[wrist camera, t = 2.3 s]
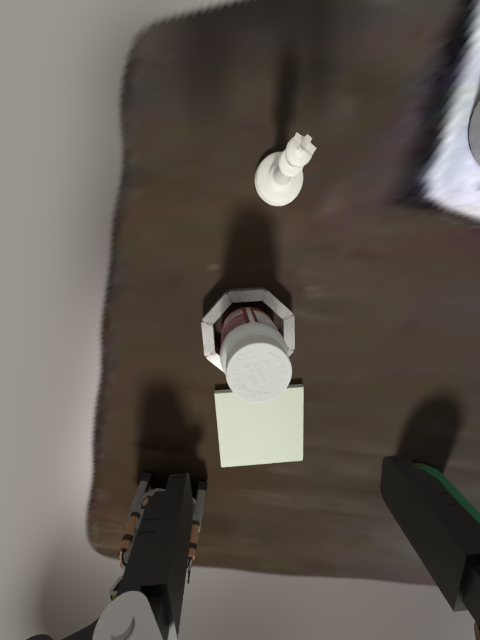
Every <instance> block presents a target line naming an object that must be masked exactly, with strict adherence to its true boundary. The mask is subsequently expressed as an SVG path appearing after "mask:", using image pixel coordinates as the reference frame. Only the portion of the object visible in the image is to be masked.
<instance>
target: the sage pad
mask: <svg viewBox="0 0 480 640" xmlns="http://www.w3.org/2000/svg"><path fill="white" fill-rule="evenodd" d="M215 404H216V415H217V426H218V436H219V447H220V458H221V467H230V466H242V465H254V464H266V463H278V462H290V461H302V460H303V385H302V384H294V385H288V386H287V388H286V389H285V391H284V392H283V393H282V394H281V395H279V396H278V397H276V398H275V399H273V400H270V401H267V402H263V403H253V402H248V401H245V400H243V399H241V398H239V397H238V396H237V395H235V394H234V393H233V391H232V390H231V389H227V390H215Z"/></svg>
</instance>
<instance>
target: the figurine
mask: <svg viewBox="0 0 480 640" xmlns="http://www.w3.org/2000/svg"><path fill="white" fill-rule="evenodd" d="M150 479H151V474H150V473H143V472H142V475H141V478H140V482H139V486H138V489H137V492H136V494H135V497H134V500H133V503H132V506H131V509H130V513H129V516H128V520H127V526H126V528H125V534H124V536H123V539H122V541H121V546H120V556H119V557H120V559H121V562H120V566H121V568H122V569H121V575H122V577H123V574H124V571H125V568H126V565H127V562H128V559H129V556H130V553H131V550H132V546H133V543H134V540H135V537H136V536H137V531H138V528H139V525H140V523H141V519H142V515H143V512H144V509H145V506H146V504H147V503H148V501H149V500H150V498H151V497H152V496H153V494H154V493H155V492H156V491H165V489H158V488H156V489H154V490H151V491H149V492H148V489H149V484H150ZM207 483H208V482H202V481H199V483H198V487H197V491H196V494H195V498H193V497H192V499H193V523H192V531H191V539H190V546H189V554H188V562H187V570H188V583H189V577H190V569H191V563H192V561H193V560H194V559H195V553H196V549H197V540H198V537H199V532H200V528H201V522H202V516H203V509H204V500H205V494H206V490H207ZM121 564H122V565H121ZM187 570H186V571H187ZM122 577H119V578H118V580H117V581H116V583H115V584H114V585H113V586H112V588H111V589H110V590H109V594H110V601H111V602H112V601H113V600H114V598H115V596H116V594H117V592H118V589H119V587H120V584H121V581H122ZM111 602H110V603H111ZM110 603H109V604H110Z"/></svg>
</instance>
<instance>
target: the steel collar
mask: <svg viewBox="0 0 480 640" xmlns="http://www.w3.org/2000/svg"><path fill="white" fill-rule="evenodd" d="M251 301H263V302H264V303H265V304H266V305H268V306H269V307H270V308H271V309H272V310H273V311H274V312H275V313H276V314H278V315H279V316H280V334H281V335H282V337H283V338H284V340H285V342H286V345H287V349H288V357H289V356H290V355H291V354H292V353H293V350H294V349H295V335H294V315H293V313H292V312H291V311H290V310H289V309H288V308H287V307H285V306H284V305H283V304H282V303H281V302H280V301H279V300H278V299H277V298H276V297H274V296H273V295H272V294H271V293H270V292H269V291H268V290H267V289H266V288H263V287H255V288H239V289H228V292H227V291H225V292H224V293H223V294H222V295H221V297H220V298H219V299H218V300H217V301H216V302H215V303H214V305H213V306H212V307H211V308H210V309H209V310H208V311H207V312H206V314H205V315H204V316H203V319H202V322H201V324H202V334H203V344H204V354H205V356H206V359H208V360H209V361H210V362H212V363H213V364H214V365H215V366H217V367H218V368H219V369H220V370H222V371H223V369H222V366H221V362H220V349H219V348H218V347H216V342H215V330H214V323H215V321H216V320H217V319H218V318H219V317H220V316H221V315H222V314H223V313H224V311H225V310H226V309H227V308H228V307H229V306H230V305H231V304H232V303H236V302H251ZM223 372H224V371H223Z"/></svg>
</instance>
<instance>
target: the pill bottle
mask: <svg viewBox="0 0 480 640" xmlns="http://www.w3.org/2000/svg"><path fill="white" fill-rule="evenodd" d="M220 362H221V366H222V369H223V371H224V373H225V374H226V379H227V383H228V385H229V387H230V389H231V390H232V391H233V393H234V394H235V395H237V396H238V397H239V398H241V399H243V400H245V401H248V402H253V403H263V402H267V401H270V400H273V399H275V398H276V397H278V396H279V395H281V394H282V393H283V392H284V391H285V389H286V388H287V386H288V385H289V383H290V380H291V376H292V366H291V362H290V359H289V357H288V349H287V345H286V342H285V340H284V338H283V337H282V335H281V334H280V332H279V331H278V329H277V328H276V327H275V325H274V323H273V322H272V321H271V319H270V318H269V316H268V315H267V314H266V313H265V312H263V311H262V310H260V309H258V308H254V307H242V308H238V309H236V310H234V311H233V312H232V313H230V314H229V315H228V316H227V318H226V319H225V321H224V323H223V326H222V331H221V348H220Z"/></svg>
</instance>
